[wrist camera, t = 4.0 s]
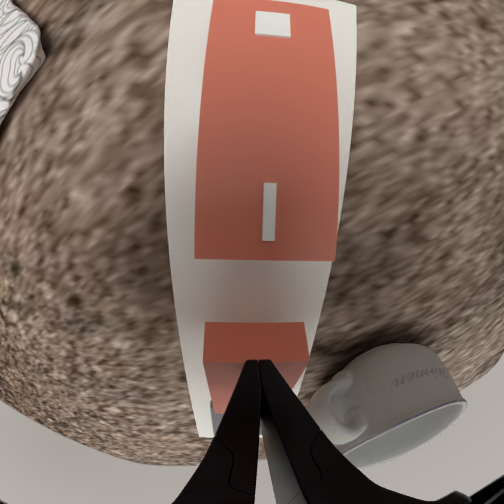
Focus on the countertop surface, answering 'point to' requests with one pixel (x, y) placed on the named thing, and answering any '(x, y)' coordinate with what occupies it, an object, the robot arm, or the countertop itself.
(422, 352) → the teacup
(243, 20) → the rocker
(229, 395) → the block
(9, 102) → the cookie jar
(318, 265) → the power strip
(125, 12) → the countertop surface
